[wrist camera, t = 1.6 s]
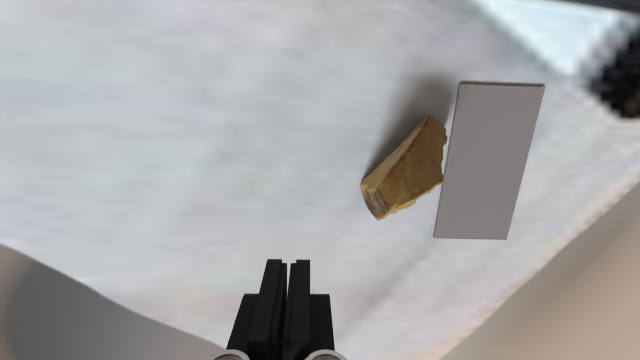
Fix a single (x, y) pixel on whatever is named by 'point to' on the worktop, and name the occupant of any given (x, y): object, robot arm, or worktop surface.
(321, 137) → the worktop surface
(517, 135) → the rubber mat
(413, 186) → the rock
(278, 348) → the robot arm
